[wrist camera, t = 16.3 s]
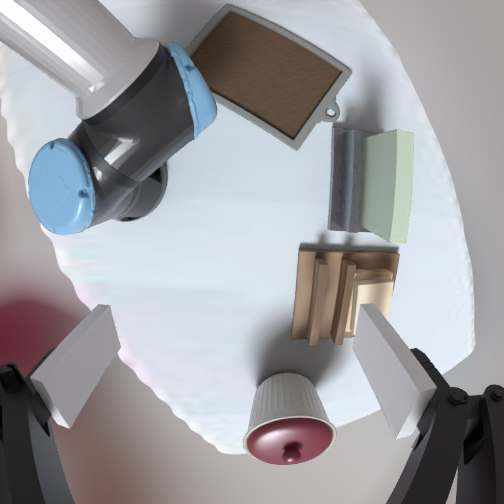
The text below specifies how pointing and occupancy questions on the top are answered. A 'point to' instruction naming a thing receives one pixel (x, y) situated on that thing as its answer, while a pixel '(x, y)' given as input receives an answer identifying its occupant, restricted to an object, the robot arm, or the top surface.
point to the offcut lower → (366, 275)
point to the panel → (387, 184)
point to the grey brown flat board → (267, 74)
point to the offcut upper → (371, 297)
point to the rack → (330, 290)
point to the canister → (288, 422)
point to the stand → (346, 179)
